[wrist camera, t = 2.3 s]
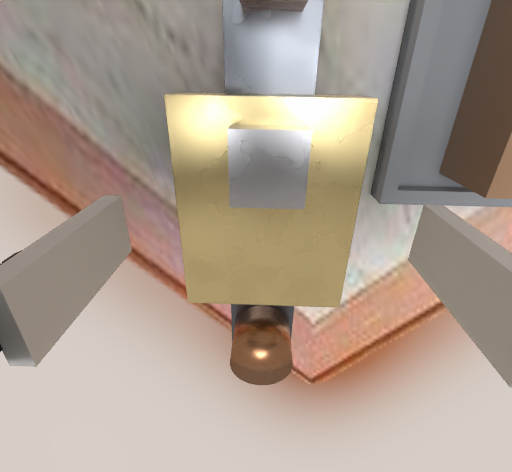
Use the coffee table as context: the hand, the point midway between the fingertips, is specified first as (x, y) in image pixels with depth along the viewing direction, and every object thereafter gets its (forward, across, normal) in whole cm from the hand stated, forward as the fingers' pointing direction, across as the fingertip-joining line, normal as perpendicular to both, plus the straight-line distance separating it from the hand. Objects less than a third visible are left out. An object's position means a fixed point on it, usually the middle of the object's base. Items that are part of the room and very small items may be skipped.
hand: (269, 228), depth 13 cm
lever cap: (+3, 0, 0) cm, 3 cm away
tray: (+10, +14, +6) cm, 18 cm away
